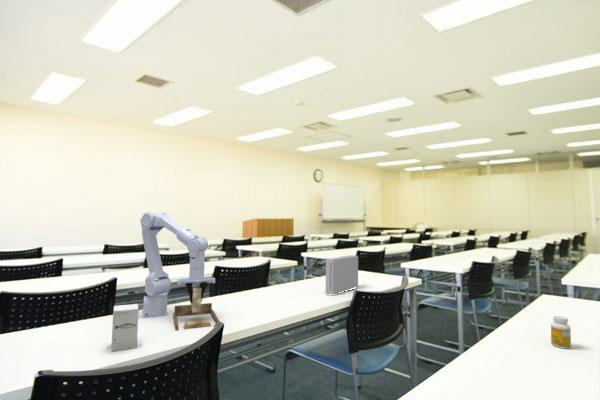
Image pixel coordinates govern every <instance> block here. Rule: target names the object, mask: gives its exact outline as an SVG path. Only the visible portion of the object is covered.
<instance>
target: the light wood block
mask: <svg viewBox="0 0 600 400" xmlns="http://www.w3.org/2000/svg"><path fill="white" fill-rule="evenodd" d="M192 286H193V290H192V303H190V305H191V309H192V312H193V313H194V312H201V304H202V302H201V287H200V284H192Z"/></svg>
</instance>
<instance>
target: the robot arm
mask: <svg viewBox="0 0 600 400" xmlns="http://www.w3.org/2000/svg"><path fill="white" fill-rule="evenodd" d="M139 220H140V226H141V238H142V241H143V246H144V252H145V258H146V262H147V268H148V275H147V276H146V277H145V278H144V279H145V280H144V282H145V284H144V285H145V286H144V292H145V293H146V294H147V295H144V296H143V309H142V313H141V314H142V318H143V319H148V318H158V317H167V316H168V314H169V313H168V295H169V292H170V291H171V290H172V287H173V283H172V280H171V279H170V277H169V273H167V272H165V271H164V268H163V264H162V263H163V262H162V259H161V255H160V254H161V253H160V250H159V249H160V248H159V243H158V239H157V235H158V234H159V233H160V232H161V231H162V230H163V229H164V228H165V229H166V230H168V231H170V232H171V233H173V234H174V235H176V239H177V240H178V241H179V242H180V243H182V244H183V245H184V246H186V248H187V251H188V256H189V275H188V278H178V279H177V280H176V281H177V283H176V284H177V286H180V285H185V287H186V289H187V292H188V296H189V302H190V304H191V303H192V290H193V286H192V285H199V286H200V287H201V303H202V302H203V297H204V294H205V291H206V290H207V288H208V284H216V278H215V277H205V259H206V255H205V254H206V251H207V250H208V248H209V243H208V240H207V239H206V238H205V237H199V235H198V234H195V233H193V232H192V231H191V228H189V227H181V226H180V225H179V224H178V223H176V222H175V221H174V220H173V219H172V218H171V217H170V215H168V214H167V213H165V212H148V211H146V212H145V213H143V214H142V217H141V219H139Z"/></svg>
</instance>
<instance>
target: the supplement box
mask: <svg viewBox="0 0 600 400" xmlns="http://www.w3.org/2000/svg"><path fill="white" fill-rule="evenodd" d="M112 311H113V312H112V328H111V329H112V331H111V352H114V351H115V352H116V351H121V350H129V349H136V348H137V347H138V332H139V331H138V328H139V327H138V325H139V303H133V304H121V305H120V304H119V305H114V306H113V310H112Z"/></svg>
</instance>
